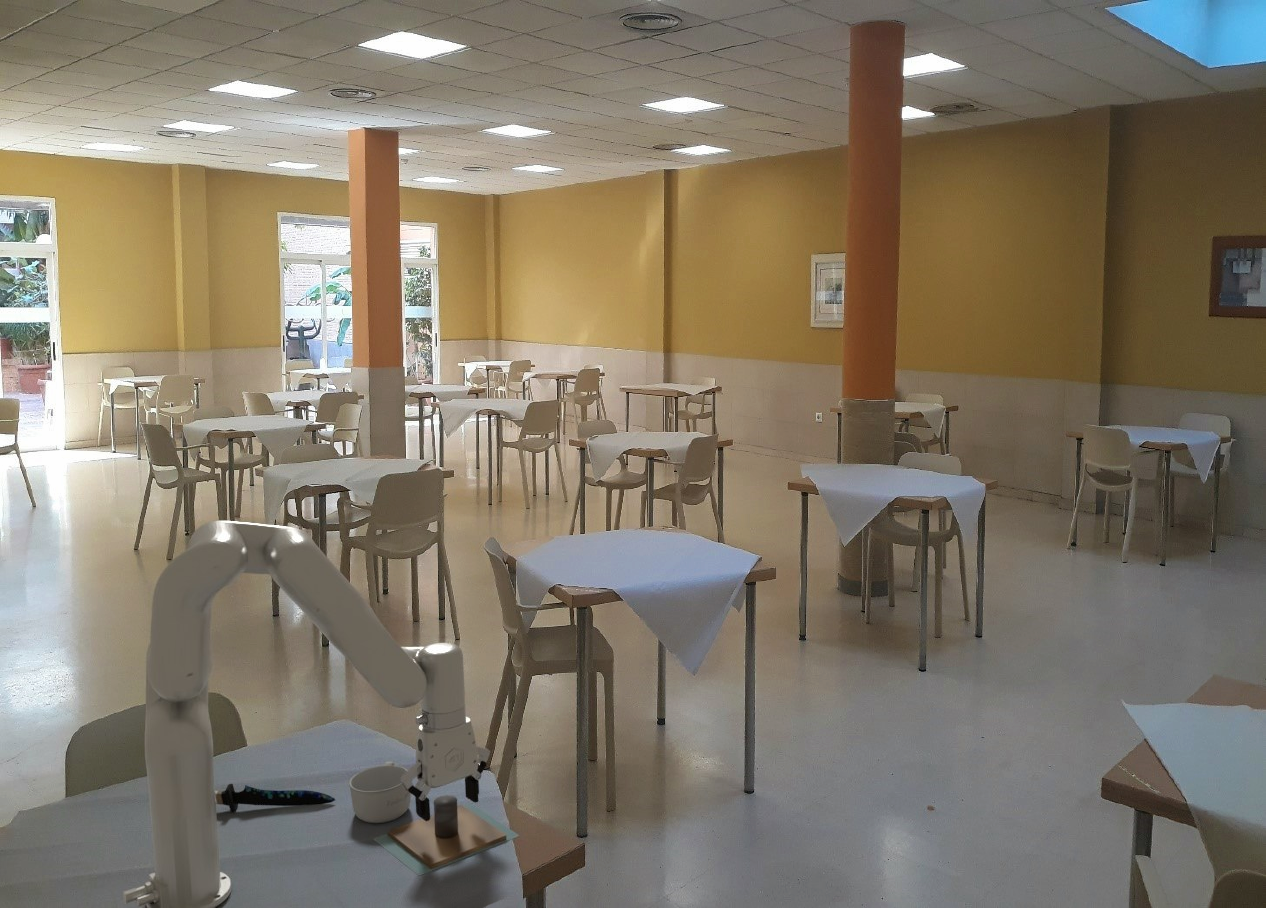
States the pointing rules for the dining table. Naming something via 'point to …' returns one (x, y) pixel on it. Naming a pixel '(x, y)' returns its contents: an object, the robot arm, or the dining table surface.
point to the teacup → (379, 793)
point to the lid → (446, 834)
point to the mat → (423, 869)
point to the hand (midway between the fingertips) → (448, 808)
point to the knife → (269, 797)
